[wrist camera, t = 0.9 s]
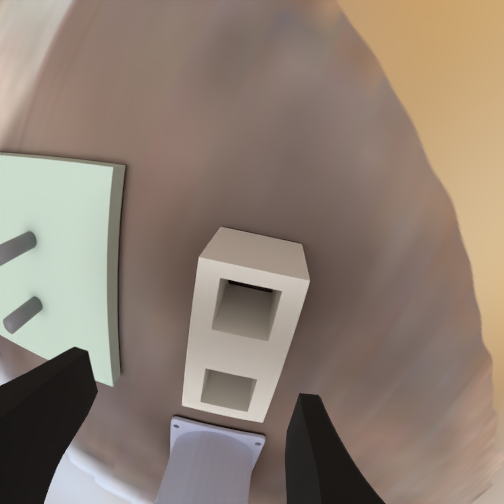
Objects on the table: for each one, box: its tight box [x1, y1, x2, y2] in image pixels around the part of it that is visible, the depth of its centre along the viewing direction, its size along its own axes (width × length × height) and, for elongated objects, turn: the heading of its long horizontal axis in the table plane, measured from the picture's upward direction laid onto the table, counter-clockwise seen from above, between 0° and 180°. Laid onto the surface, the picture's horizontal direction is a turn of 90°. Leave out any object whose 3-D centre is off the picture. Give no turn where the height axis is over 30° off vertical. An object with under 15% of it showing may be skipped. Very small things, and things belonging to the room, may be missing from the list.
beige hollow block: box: [182, 227, 310, 423], centre depth 16 cm, size 9×5×5 cm, turn 169°
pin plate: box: [0, 152, 125, 387], centre depth 17 cm, size 16×13×5 cm
